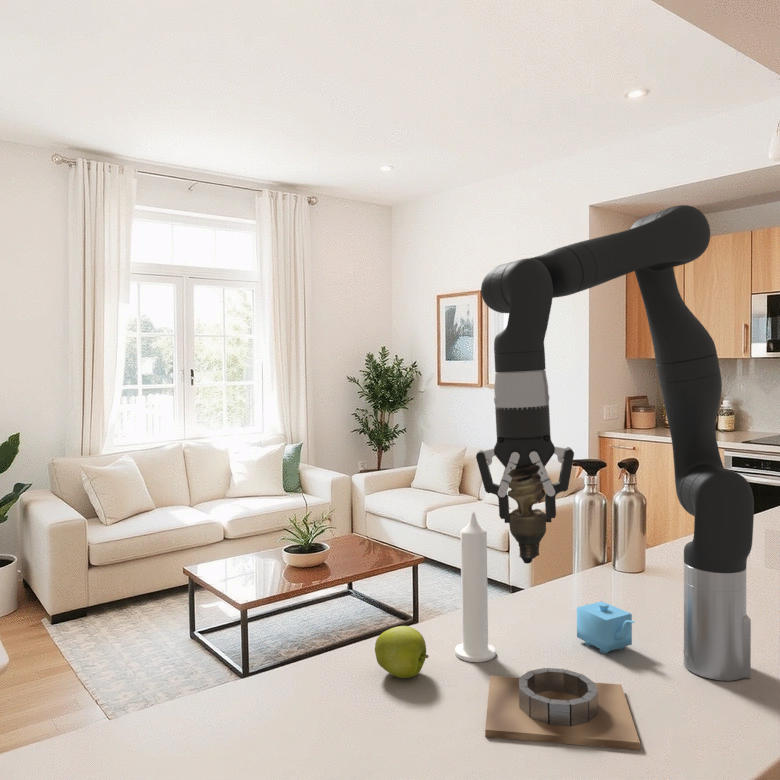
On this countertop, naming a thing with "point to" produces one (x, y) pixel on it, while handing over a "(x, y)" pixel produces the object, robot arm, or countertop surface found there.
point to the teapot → (604, 626)
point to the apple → (401, 651)
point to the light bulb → (527, 511)
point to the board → (602, 730)
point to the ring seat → (558, 709)
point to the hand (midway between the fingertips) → (527, 520)
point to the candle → (474, 595)
